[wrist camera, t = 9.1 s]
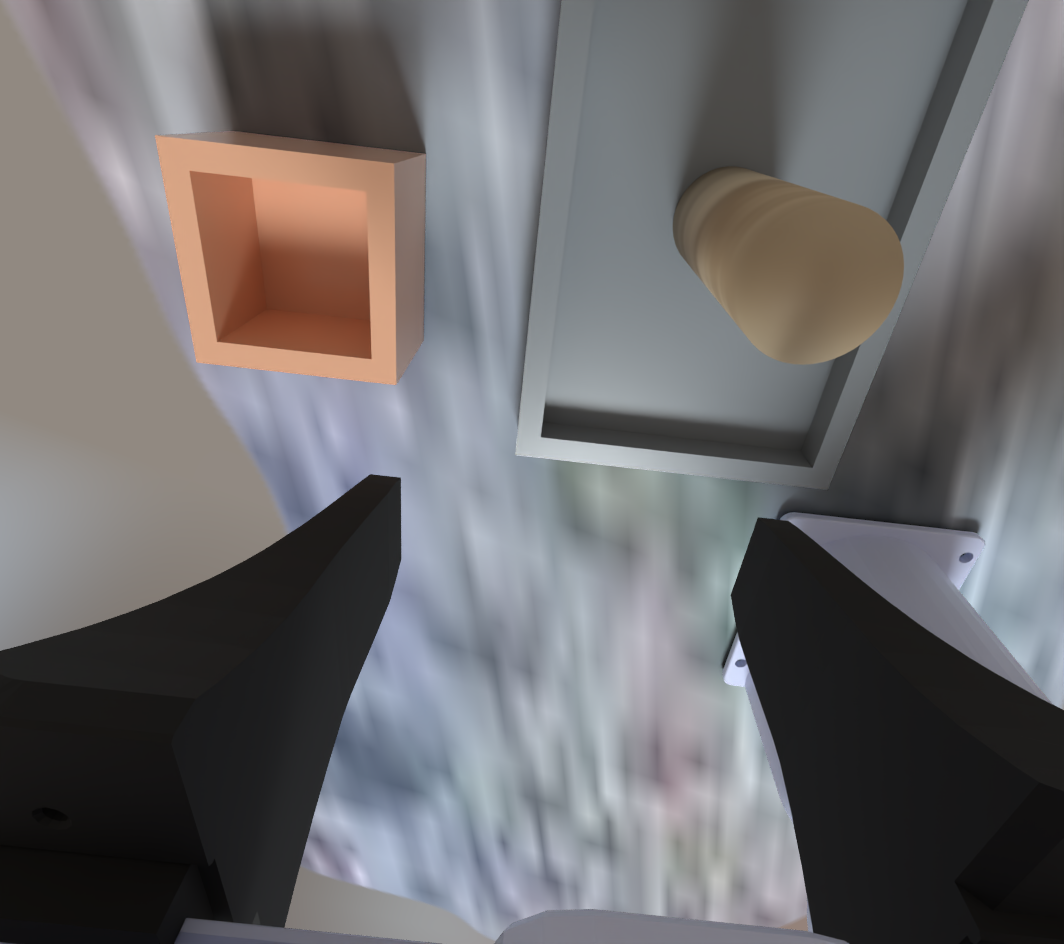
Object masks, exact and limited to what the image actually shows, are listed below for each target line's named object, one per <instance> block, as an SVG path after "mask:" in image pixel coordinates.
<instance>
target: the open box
mask: <svg viewBox="0 0 1064 944" xmlns="http://www.w3.org/2000/svg"><path fill="white" fill-rule="evenodd" d="M155 138H156V143H157V149H158V154H159V160H160V165H161V171H162V176H163V182H164V187H165V192H166V198H167V203H168V209H169V214H170V220H171V225H172V231H173V236H174V242H175V247H176V252H177V258H178V263H179V269H180V274H181V280H182V285H183V291H184V296H185V302H186V307H187V312H188V318H189V323H190V329H191V334H192V340H193V345H194V351H195V356H196V362H198V363H206V364H215V365H224V366H233V367H242V368H251V369H259V370H268V371H277V372H286V373H295V374H304V375H313V376H321V377H330V378H339V379H348V380H357V381H366V382H374V383H383V384H392V385H397V383H398V382H399V380H400V378H401V377H402V375H403V373H404V372H405V370H406V368H407V367H408V365H409V364H410V362H411V360H412V359H413V357H414V355H415V354H416V352H417V351H418V349H419V347H420V346H421V344H422V342H423V339H424V265H425V190H426V154H424V153H415V152H407V151H398V150H390V149H381V148H373V147H365V146H356V145H348V144H339V143H331V142H322V141H314V140H305V139H297V138H288V137H280V136H271V135H263V134H254V133H246V132H237V131H221V132H204V133H187V134H170V135H155Z"/></svg>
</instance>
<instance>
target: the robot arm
mask: <svg viewBox="0 0 1064 944" xmlns="http://www.w3.org/2000/svg"><path fill="white" fill-rule="evenodd" d="M984 547H985V541H984V540H983V539H982V538H981V537H980V536H979V535H978V534H977V533H974V532H968V531H959V530H950V529H941V528H932V527H923V526H914V525H905V524H896V523H887V522H878V521H869V520H860V519H851V518H842V517H833V516H824V515H815V514H806V513H797V512H791V513H788V514H785V515H784V516H782V517H781V518H780V520H776V519H767V518H758V519H757V522H756V525H755V528H754V531H753V533H752V536H751V539H750V542H749V545H748V548H747V550H746V553H745V556H744V559H743V562H742V565H741V568H740V570H739V573H738V576H737V579H736V582H735V585H734V587H733V590H732V593H731V599H732V605H733V611H734V617H735V622H736V627H737V634H736V637H735V639H734V642H733V645H732V647H731V650H730V653H729V655H728V658H727V661H726V663H725V666H724V669H723V671H722V675H723V679H724V681H725V683H727V684H729V685H734V686H743V687H745V689H746V692H747V695H748V698H749V701H750V704H751V708H752V711H753V714H754V717H755V720H756V724H757V727H758V730H759V733H760V736H761V740H762V743H763V746H764V749H765V752H766V755H767V759H768V762H769V765H770V768H771V771H772V775H773V778H774V781H775V784H776V787H777V791H778V794H779V797H780V799H781V802H782V804H783V806H784V809H785V810H786V812H787V814H788V816H789V817H790V819H791V821H792V822H793V824H794V829H795V834H796V839H797V844H798V849H799V854H800V859H801V864H802V869H803V875H804V881H805V887H806V893H807V923H808V931H809V932H808V931H800V930H791V929H781V928H772V927H762V926H752V925H742V924H733V923H723V922H713V921H703V920H694V919H684V918H674V917H664V916H655V915H645V914H635V913H625V912H615V911H606V910H596V909H583V910H550V911H545V912H542V913H539V914H536V915H534V916H531V917H528V918H525V919H522V920H520V921H517V922H514V923H512V924H511V925H510V926H509V927H508V928H507V929H505V930H504V931H503V933H502V934H501V935H500V937H499V938H498V939H497V941H496V942H495V944H1064V710H1062V709H1060V708H1058V707H1056V706H1054V705H1053V704H1052V703H1051V702H1050V701H1049V699H1048V698H1047V697H1046V696H1045V694H1044V693H1043V692H1042V691H1041V690H1040V688H1039V687H1038V686H1037V685H1036V684H1035V682H1034V681H1033V680H1032V679H1031V677H1030V676H1029V675H1028V674H1027V673H1026V671H1025V670H1024V669H1023V668H1022V667H1021V665H1020V664H1019V663H1018V662H1017V660H1016V659H1015V658H1014V657H1013V656H1012V654H1011V653H1010V652H1009V651H1008V650H1007V648H1006V647H1005V646H1004V645H1003V643H1002V642H1001V641H1000V640H999V639H998V637H997V636H996V635H995V634H994V633H993V631H992V630H991V629H990V628H989V626H988V625H987V624H986V623H985V622H984V620H983V619H982V618H981V617H980V616H979V614H978V613H977V612H976V611H975V609H974V608H973V607H972V606H971V605H970V603H969V602H968V601H967V600H966V599H965V597H964V596H963V595H962V594H961V592H960V591H959V589H960V588H961V586H962V584H963V583H964V581H965V579H966V577H967V576H968V574H969V572H970V571H971V569H972V567H973V566H974V564H975V562H976V561H977V559H978V557H979V556H980V554H981V552H982V551H983V549H984ZM964 553H966V554H965V555H963V556H961V555H962V554H964ZM960 556H961V557H960ZM400 562H401V478H398V477H389V476H380V475H371V474H370V475H369V476H368V477H366V478H365V479H363V480H362V481H361V482H359V483H358V484H357V485H355V486H354V487H353V488H352V489H350V490H349V491H348V492H346V493H345V494H344V495H342V496H341V497H340V498H338V499H337V500H336V501H335V502H333V503H332V504H331V505H329V506H328V507H327V508H325V509H324V510H323V511H321V512H320V513H318V514H317V515H316V516H314V517H313V518H312V519H310V520H309V521H307V522H306V523H305V524H303V525H302V526H300V527H299V528H297V529H295V530H294V531H292V532H291V533H289V534H288V535H286V536H285V537H283V538H282V539H280V540H279V541H277V542H276V543H274V544H273V545H271V546H270V547H268V548H266V549H265V550H263V551H261V552H259V553H258V554H256V555H254V556H252V557H251V558H249V559H247V560H246V561H243V562H242V563H240V564H238V565H236V566H234V567H232V568H230V569H228V570H226V571H224V572H223V573H221V574H219V575H216V576H214V577H212V578H210V579H208V580H206V581H204V582H201V583H199V584H197V585H194V586H192V587H190V588H188V589H185V590H183V591H181V592H179V593H176V594H174V595H172V596H170V597H167V598H165V599H163V600H160V601H158V602H155V603H152V604H150V605H147V606H145V607H142V608H139V609H137V610H134V611H131V612H129V613H126V614H123V615H120V616H117V617H114V618H111V619H108V620H105V621H102V622H100V623H96V624H93V625H90V626H87V627H85V628H81V629H78V630H74V631H70V632H67V633H63V634H60V635H57V636H53V637H49V638H46V639H43V640H39V641H35V642H32V643H28V644H25V645H21V646H18V647H14V648H10V649H6V650H2V651H0V944H439V943H430V942H420V941H409V940H400V939H390V938H379V937H370V936H360V935H351V934H341V933H331V932H321V931H311V930H301V929H290V928H284V927H285V922H286V919H287V915H288V911H289V906H290V903H291V899H292V895H293V891H294V886H295V883H296V879H297V875H298V871H299V868H300V864H301V860H302V857H303V853H304V849H305V845H306V842H307V838H308V834H309V831H310V827H311V823H312V819H313V816H314V812H315V809H316V805H317V802H318V798H319V795H320V791H321V788H322V784H323V781H324V777H325V774H326V770H327V767H328V763H329V760H330V757H331V754H332V750H333V747H334V744H335V740H336V737H337V734H338V730H339V727H340V724H341V721H342V717H343V714H344V712H345V709H346V706H347V704H348V701H349V698H350V695H351V693H352V691H353V688H354V686H355V683H356V681H357V679H358V676H359V674H360V672H361V669H362V667H363V664H364V662H365V660H366V657H367V655H368V653H369V650H370V648H371V645H372V643H373V641H374V638H375V636H376V634H377V631H378V629H379V626H380V624H381V622H382V619H383V617H384V614H385V612H386V609H387V607H388V604H389V602H390V599H391V595H392V592H393V588H394V584H395V581H396V577H397V573H398V569H399V565H400ZM739 659H742V660H740V661H737V660H739Z"/></svg>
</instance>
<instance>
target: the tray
mask: <svg viewBox="0 0 1064 944" xmlns="http://www.w3.org/2000/svg"><path fill="white" fill-rule="evenodd" d="M1028 1H1029V0H561V10H560V20H559V30H558V39H557V49H556V59H555V69H554V79H553V89H552V99H551V108H550V118H549V128H548V138H547V148H546V158H545V167H544V177H543V187H542V197H541V207H540V217H539V227H538V236H537V246H536V256H535V266H534V276H533V286H532V295H531V305H530V315H529V325H528V335H527V345H526V354H525V364H524V374H523V384H522V394H521V404H520V414H519V423H518V433H517V443H516V453H515V455H518V456H527V457H536V458H545V459H554V460H563V461H572V462H581V463H590V464H599V465H608V466H617V467H626V468H635V469H644V470H652V471H661V472H670V473H679V474H688V475H697V476H706V477H715V478H724V479H733V480H742V481H751V482H760V483H769V484H778V485H787V486H796V487H804V488H813V489H822V490H828V488H829V486H830V483H831V481H832V479H833V476H834V474H835V471H836V469H837V466H838V464H839V461H840V459H841V457H842V454H843V452H844V449H845V447H846V444H847V442H848V440H849V437H850V435H851V432H852V430H853V427H854V425H855V422H856V420H857V418H858V415H859V413H860V410H861V408H862V405H863V403H864V401H865V398H866V396H867V393H868V391H869V388H870V386H871V383H872V381H873V379H874V376H875V374H876V371H877V369H878V366H879V364H880V362H881V359H882V357H883V354H884V352H885V349H886V347H887V344H888V342H889V340H890V337H891V335H892V332H893V330H894V327H895V325H896V323H897V320H898V318H899V315H900V313H901V310H902V308H903V305H904V303H905V301H906V298H907V296H908V293H909V291H910V288H911V286H912V284H913V281H914V279H915V276H916V274H917V271H918V269H919V266H920V264H921V262H922V259H923V257H924V254H925V252H926V249H927V247H928V245H929V242H930V240H931V237H932V235H933V232H934V230H935V227H936V225H937V223H938V220H939V218H940V215H941V213H942V210H943V208H944V206H945V203H946V201H947V198H948V196H949V193H950V191H951V188H952V186H953V184H954V181H955V179H956V176H957V174H958V171H959V169H960V167H961V164H962V162H963V159H964V157H965V154H966V152H967V149H968V147H969V145H970V142H971V140H972V137H973V135H974V132H975V130H976V128H977V125H978V123H979V120H980V118H981V115H982V113H983V110H984V108H985V106H986V103H987V101H988V98H989V96H990V93H991V91H992V89H993V86H994V84H995V81H996V79H997V76H998V74H999V71H1000V69H1001V67H1002V64H1003V62H1004V59H1005V57H1006V54H1007V52H1008V50H1009V47H1010V45H1011V42H1012V40H1013V37H1014V35H1015V32H1016V30H1017V28H1018V25H1019V23H1020V20H1021V18H1022V15H1023V13H1024V11H1025V8H1026V6H1027V3H1028ZM728 166H734V167H741V168H745V169H749V170H752V171H755V172H758V173H761V174H764V175H767V176H771V177H774V178H777V179H780V180H783V181H786V182H789V183H793V184H796V185H799V186H802V187H805V188H808V189H811V190H815V191H818V192H821V193H824V194H827V195H830V196H833V197H837V198H840V199H843V200H846V201H849V202H852V203H855V204H859V205H861V206H864V207H867V208H869V209H871V210H873V211H875V212H876V213H878V214H879V215H880V216H882V217H883V218H884V219H885V220H886V221H887V222H888V223H889V224H890V225H891V227H892V228H893V230H894V231H895V233H896V234H897V236H898V239H899V241H900V244H901V247H902V251H903V257H904V274H903V281H902V286H901V289H900V292H899V295H898V298H897V300H896V302H895V304H894V306H893V308H892V310H891V312H890V313H889V315H888V317H887V318H886V319H885V321H884V322H883V323H882V325H881V326H880V327H879V328H878V329H877V330H876V331H875V332H874V333H873V334H872V335H871V336H870V337H869V338H868V339H867V340H866V341H864V342H863V343H862V344H860V345H859V346H858V347H856V348H855V349H853V350H851V351H850V352H848V353H846V354H844V355H842V356H839V357H837V358H835V359H832V360H829V361H825V362H821V363H816V364H805V365H800V364H790V363H784V362H781V361H778V360H775V359H773V358H771V357H769V356H767V355H765V354H764V353H762V352H761V351H759V350H758V349H757V348H756V347H755V346H754V345H753V344H752V343H751V341H750V340H749V339H748V338H747V337H746V335H745V334H744V333H743V332H742V330H741V329H740V328H739V327H738V325H737V324H736V323H735V322H734V320H733V319H732V318H731V317H730V316H729V314H728V313H727V312H726V311H725V309H724V308H723V307H722V306H721V304H720V303H719V302H718V301H717V299H716V298H715V297H714V296H713V295H712V293H711V292H710V291H709V290H708V288H707V287H706V286H705V285H704V283H703V282H702V281H701V280H700V278H699V277H698V276H697V275H696V274H695V272H694V271H693V270H692V269H691V267H690V266H689V265H688V264H687V262H686V261H685V260H684V259H683V257H682V256H681V255H680V253H679V251H678V250H677V247H676V245H675V241H674V237H673V219H674V214H675V210H676V207H677V205H678V202H679V200H680V199H681V197H682V195H683V194H684V192H685V191H686V189H687V188H688V187H689V186H690V185H691V184H692V183H693V182H694V181H695V180H696V179H698V178H699V177H700V176H702V175H703V174H705V173H707V172H709V171H711V170H714V169H717V168H721V167H728Z"/></svg>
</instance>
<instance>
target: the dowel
mask: <svg viewBox="0 0 1064 944" xmlns="http://www.w3.org/2000/svg"><path fill="white" fill-rule="evenodd" d="M673 237H674V241H675V245H676V247H677V250H678V251H679V253H680V255H681V256H682V257H683V259H684V260H685V261H686V262H687V264H688V265H689V266H690V267H691V269H692V270H693V271H694V272H695V274H696V275H697V276H698V277H699V278H700V280H701V281H702V282H703V283H704V285H705V286H706V287H707V288H708V290H709V291H710V292H711V293H712V295H713V296H714V297H715V298H716V299H717V301H718V302H719V303H720V304H721V306H722V307H723V308H724V309H725V311H726V312H727V313H728V314H729V316H730V317H731V318H732V319H733V320H734V322H735V323H736V324H737V325H738V327H739V328H740V329H741V330H742V332H743V333H744V334H745V335H746V337H747V338H748V339H749V340H750V341H751V343H752V344H753V345H754V346H755V347H756V348H757V349H758V350H759V351H761V352H762V353H764V354H765V355H767V356H769V357H771V358H773V359H775V360H778V361H781V362H784V363H790V364H800V365H805V364H816V363H821V362H825V361H829V360H832V359H835V358H837V357H839V356H842V355H844V354H846V353H848V352H850V351H851V350H853V349H855V348H856V347H858V346H859V345H860V344H862V343H863V342H864V341H866V340H867V339H868V338H869V337H870V336H871V335H872V334H873V333H874V332H875V331H876V330H877V329H878V328H879V327H880V326H881V325H882V323H883V322H884V321H885V319H886V318H887V317H888V315H889V313H890V312H891V310H892V308H893V306H894V304H895V302H896V300H897V298H898V295H899V292H900V289H901V286H902V281H903V274H904V257H903V251H902V247H901V244H900V241H899V239H898V236H897V234H896V233H895V231H894V230H893V228H892V227H891V225H890V224H889V223H888V222H887V221H886V220H885V219H884V218H883V217H882V216H880V215H879V214H878V213H876V212H875V211H873V210H871V209H869V208H867V207H864V206H861V205H859V204H855V203H852V202H849V201H846V200H843V199H840V198H837V197H833V196H830V195H827V194H824V193H821V192H818V191H815V190H811V189H808V188H805V187H802V186H799V185H796V184H793V183H789V182H786V181H783V180H780V179H777V178H774V177H771V176H767V175H764V174H761V173H758V172H755V171H752V170H749V169H745V168H741V167H734V166H728V167H721V168H717V169H714V170H711V171H709V172H707V173H705V174H703V175H702V176H700V177H699V178H698V179H696V180H695V181H694V182H693V183H692V184H691V185H690V186H689V187H688V188H687V189H686V191H685V192H684V194H683V195H682V197H681V199H680V200H679V202H678V205H677V207H676V210H675V214H674V219H673Z"/></svg>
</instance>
